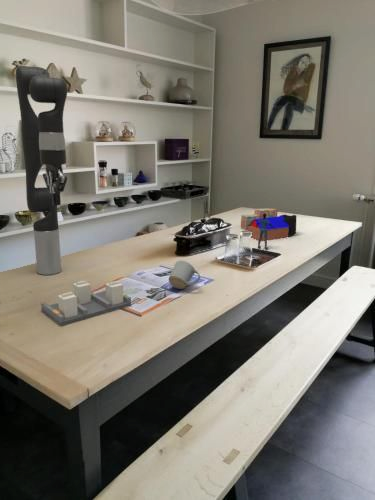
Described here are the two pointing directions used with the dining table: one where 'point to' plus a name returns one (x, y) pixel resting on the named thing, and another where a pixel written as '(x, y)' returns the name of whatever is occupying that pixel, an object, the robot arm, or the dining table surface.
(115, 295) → the white rectangular block
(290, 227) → the pen holder
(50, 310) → the switch bank
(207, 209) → the pliers
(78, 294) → the off-white rectangular block
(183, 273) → the ceramic mug
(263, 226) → the person figurine
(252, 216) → the stack of blocks
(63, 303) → the cream upright block
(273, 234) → the house
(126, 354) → the dining table surface
